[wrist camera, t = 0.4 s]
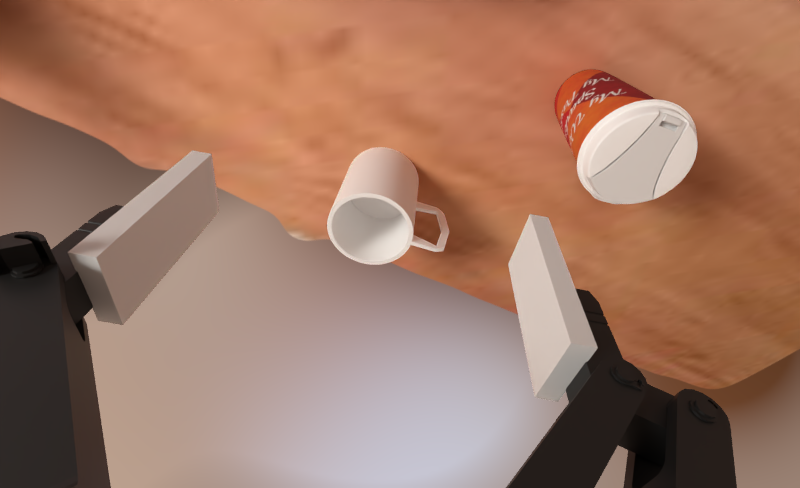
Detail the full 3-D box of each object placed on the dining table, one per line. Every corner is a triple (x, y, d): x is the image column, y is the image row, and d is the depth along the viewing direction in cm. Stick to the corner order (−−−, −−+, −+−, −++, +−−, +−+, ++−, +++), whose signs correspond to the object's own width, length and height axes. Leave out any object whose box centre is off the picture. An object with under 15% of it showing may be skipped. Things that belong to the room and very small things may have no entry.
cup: (436, 228, 49) (434, 283, 41) (341, 200, 48) (320, 251, 40) (461, 170, 44) (464, 220, 36) (356, 137, 43) (335, 181, 35)
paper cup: (570, 44, 36) (627, 88, 24) (646, 73, 36) (735, 129, 25) (527, 125, 40) (559, 193, 29) (595, 149, 41) (652, 224, 30)
